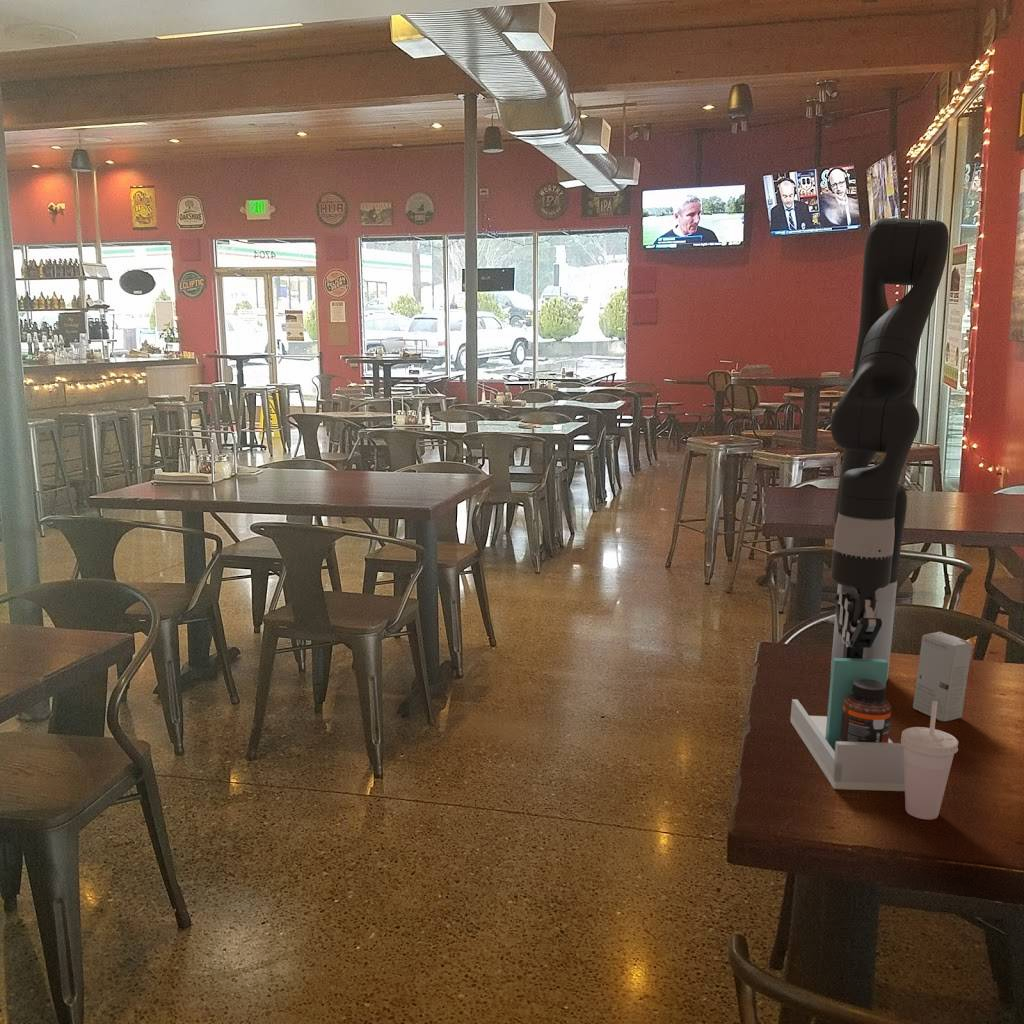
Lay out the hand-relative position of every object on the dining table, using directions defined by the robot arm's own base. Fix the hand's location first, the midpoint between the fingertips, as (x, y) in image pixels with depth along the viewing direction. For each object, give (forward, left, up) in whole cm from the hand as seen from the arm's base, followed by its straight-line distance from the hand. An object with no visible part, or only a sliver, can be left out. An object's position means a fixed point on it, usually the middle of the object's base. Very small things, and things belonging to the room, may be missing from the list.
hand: (851, 671), depth 135 cm
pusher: (+3, 0, -10) cm, 11 cm away
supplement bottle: (+6, 0, -11) cm, 13 cm away
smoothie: (+17, +4, -12) cm, 21 cm away
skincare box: (-16, +19, -12) cm, 27 cm away
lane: (0, 0, -12) cm, 12 cm away
